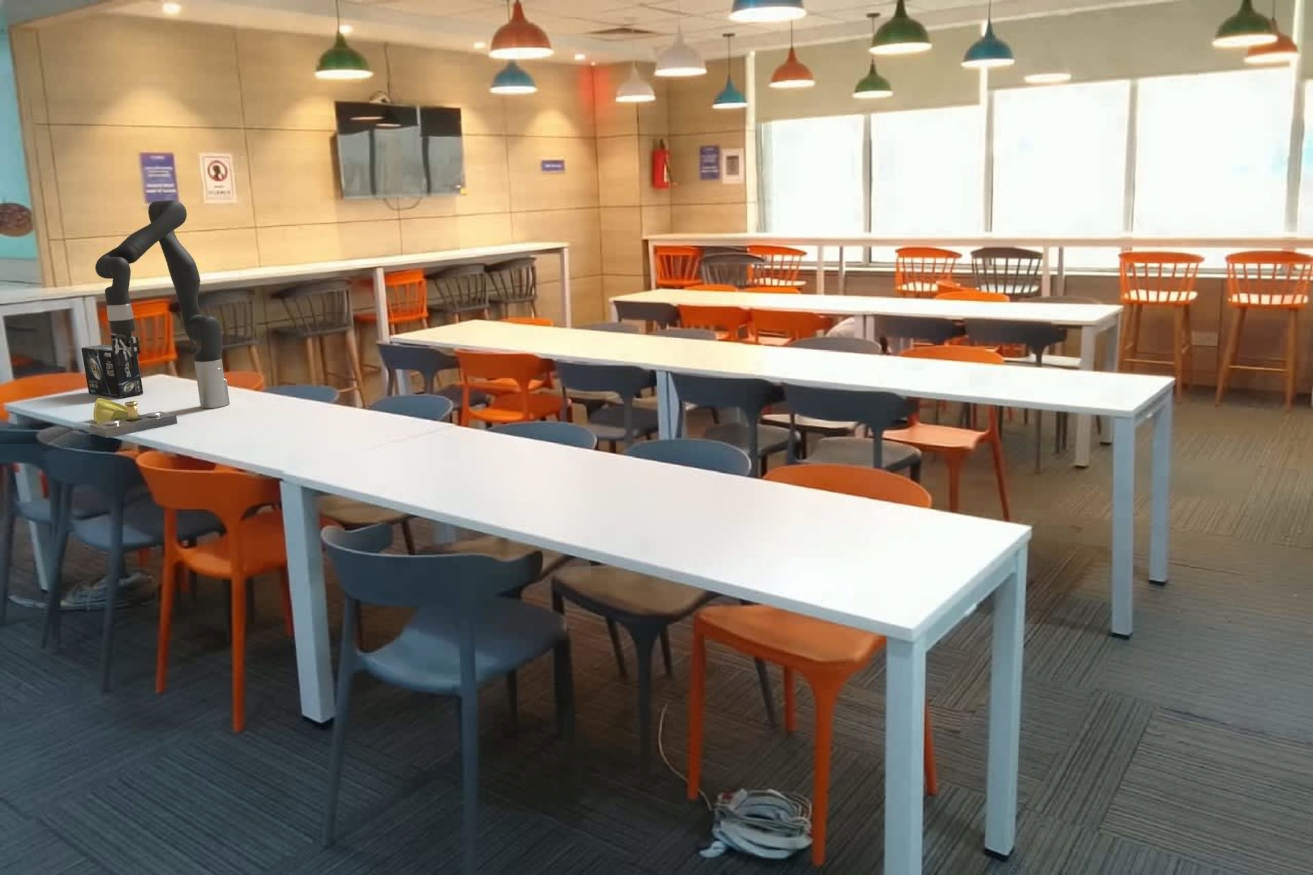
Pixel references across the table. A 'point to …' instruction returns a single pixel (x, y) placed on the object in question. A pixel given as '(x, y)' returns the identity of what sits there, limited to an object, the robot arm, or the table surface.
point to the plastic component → (109, 411)
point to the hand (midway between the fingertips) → (128, 366)
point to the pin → (132, 410)
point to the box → (110, 373)
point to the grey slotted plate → (133, 424)
